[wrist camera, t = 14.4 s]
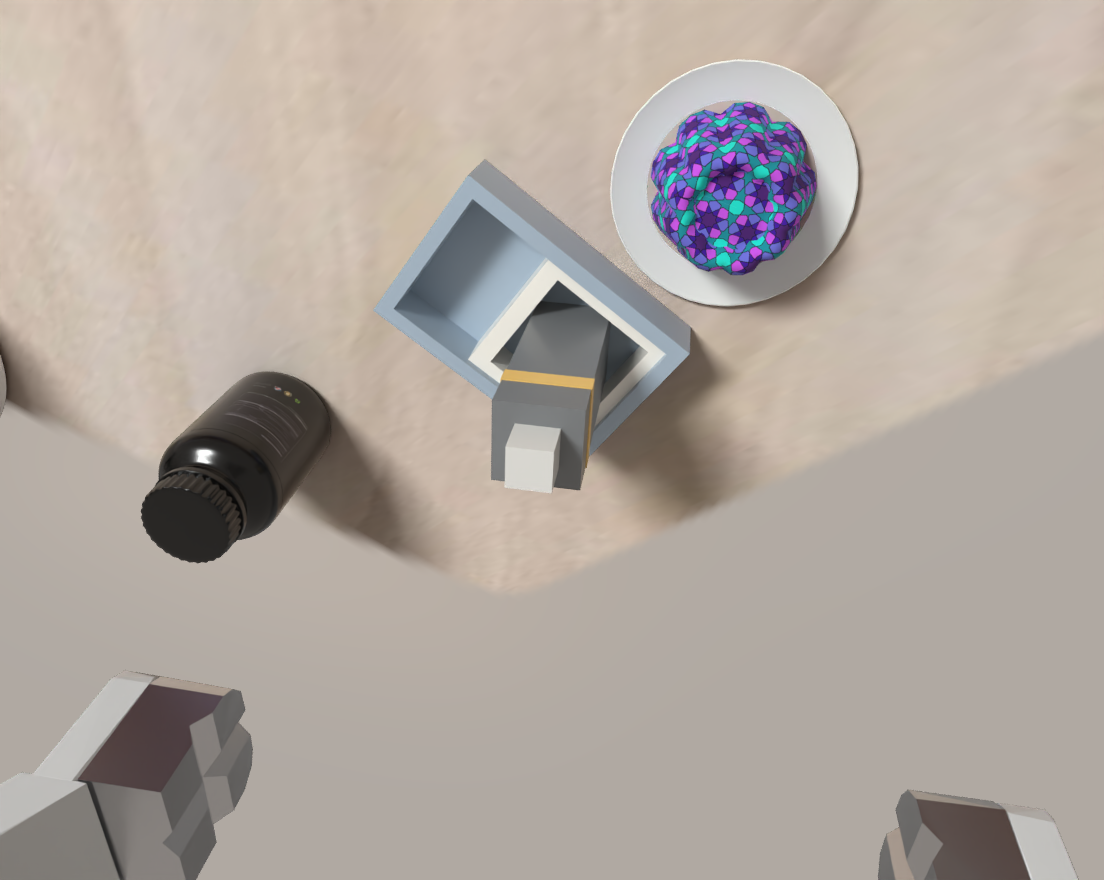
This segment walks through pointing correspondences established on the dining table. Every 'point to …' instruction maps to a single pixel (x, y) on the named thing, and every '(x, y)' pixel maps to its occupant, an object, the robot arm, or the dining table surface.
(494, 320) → the walled box
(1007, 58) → the dining table surface
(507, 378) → the grey bottle
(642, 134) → the pudding
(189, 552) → the supplement bottle
